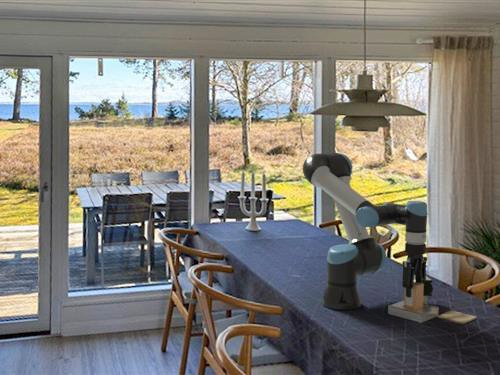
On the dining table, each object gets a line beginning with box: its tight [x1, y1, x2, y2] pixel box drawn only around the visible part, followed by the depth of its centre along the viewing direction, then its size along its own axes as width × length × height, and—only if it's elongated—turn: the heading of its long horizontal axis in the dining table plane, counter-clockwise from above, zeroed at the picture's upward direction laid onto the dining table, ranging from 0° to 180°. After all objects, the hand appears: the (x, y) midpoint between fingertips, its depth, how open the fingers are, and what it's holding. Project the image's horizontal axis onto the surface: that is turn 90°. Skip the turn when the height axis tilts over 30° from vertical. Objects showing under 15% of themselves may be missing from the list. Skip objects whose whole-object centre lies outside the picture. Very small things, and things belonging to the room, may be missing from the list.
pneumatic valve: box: [414, 275, 434, 304], centre depth 229 cm, size 6×12×12 cm, turn 2°
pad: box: [437, 310, 478, 325], centre depth 213 cm, size 10×10×1 cm
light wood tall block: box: [403, 281, 424, 311], centre depth 216 cm, size 5×5×12 cm
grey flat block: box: [387, 300, 440, 324], centre depth 217 cm, size 14×12×3 cm
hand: (413, 303), depth 216 cm, fingers closed on light wood tall block, 5 cm apart
